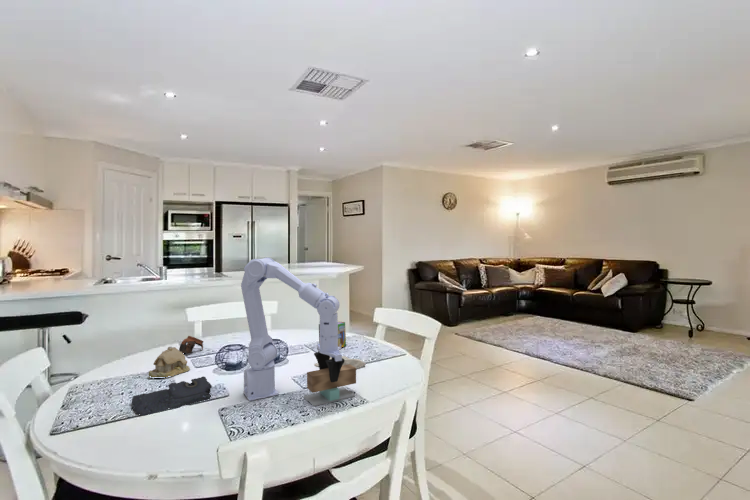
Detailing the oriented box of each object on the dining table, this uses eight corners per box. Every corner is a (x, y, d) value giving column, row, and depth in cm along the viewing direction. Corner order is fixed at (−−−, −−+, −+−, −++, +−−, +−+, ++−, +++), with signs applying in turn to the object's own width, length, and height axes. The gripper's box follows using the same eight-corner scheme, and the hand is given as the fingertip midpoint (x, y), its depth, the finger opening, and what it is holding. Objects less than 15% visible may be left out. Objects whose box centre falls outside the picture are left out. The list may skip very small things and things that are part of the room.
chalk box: (346, 346, 181) (346, 315, 180) (334, 351, 173) (333, 318, 172) (330, 343, 186) (330, 313, 185) (318, 348, 178) (318, 316, 177)
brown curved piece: (176, 352, 175) (185, 334, 178) (197, 359, 178) (205, 342, 181) (176, 352, 164) (185, 333, 167) (198, 359, 167) (207, 341, 170)
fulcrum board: (313, 406, 116) (313, 395, 116) (303, 397, 122) (303, 386, 122) (354, 396, 123) (354, 385, 123) (343, 388, 130) (343, 378, 130)
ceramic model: (170, 366, 154) (169, 341, 154) (195, 368, 152) (194, 342, 152) (142, 379, 140) (142, 351, 140) (169, 381, 138) (169, 353, 138)
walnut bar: (312, 392, 117) (312, 376, 117) (307, 387, 121) (306, 372, 121) (356, 383, 125) (356, 367, 125) (349, 378, 129) (349, 364, 129)
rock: (303, 369, 150) (320, 376, 138) (303, 357, 151) (321, 363, 139) (350, 363, 163) (370, 369, 150) (350, 352, 163) (370, 357, 151)
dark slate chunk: (128, 402, 121) (128, 387, 121) (203, 385, 135) (202, 371, 135) (136, 419, 109) (136, 403, 109) (217, 399, 123) (216, 384, 123)
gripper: (350, 338, 118) (350, 382, 118) (330, 329, 130) (330, 369, 131) (329, 341, 114) (329, 387, 115) (311, 331, 127) (311, 372, 127)
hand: (328, 377), depth 123 cm, fingers open, 7 cm apart
